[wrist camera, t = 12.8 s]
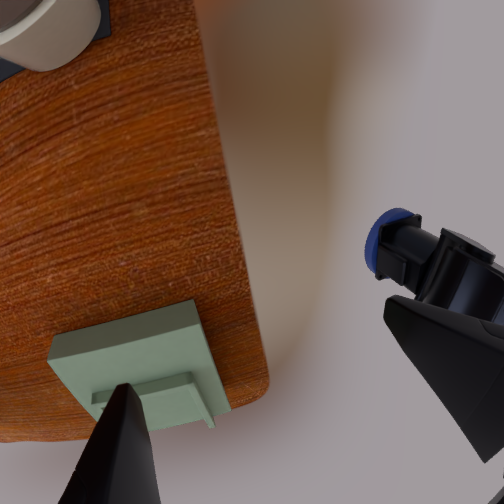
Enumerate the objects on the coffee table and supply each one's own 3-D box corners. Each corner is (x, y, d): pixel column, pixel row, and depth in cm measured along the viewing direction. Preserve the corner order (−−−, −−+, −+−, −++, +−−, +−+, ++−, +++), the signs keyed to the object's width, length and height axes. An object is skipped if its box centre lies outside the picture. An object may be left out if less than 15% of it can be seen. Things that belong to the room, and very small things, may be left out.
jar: (100, -23, 9) (81, -85, 3) (104, 51, 12) (73, 5, 6) (16, 12, 8) (-35, -26, 1) (17, 86, 11) (-50, 74, 4)
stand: (193, 298, 21) (203, 335, 17) (223, 387, 26) (235, 421, 22) (53, 335, 18) (43, 372, 15) (112, 413, 23) (112, 447, 20)
